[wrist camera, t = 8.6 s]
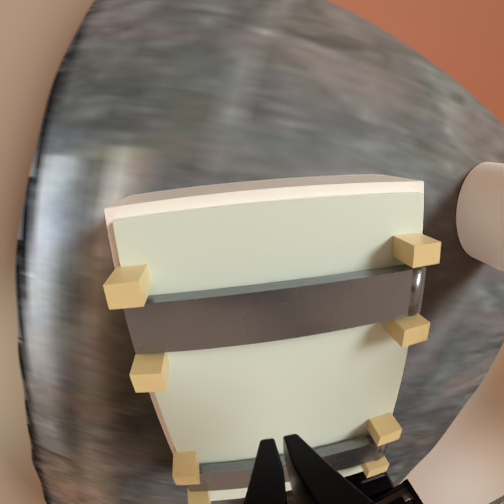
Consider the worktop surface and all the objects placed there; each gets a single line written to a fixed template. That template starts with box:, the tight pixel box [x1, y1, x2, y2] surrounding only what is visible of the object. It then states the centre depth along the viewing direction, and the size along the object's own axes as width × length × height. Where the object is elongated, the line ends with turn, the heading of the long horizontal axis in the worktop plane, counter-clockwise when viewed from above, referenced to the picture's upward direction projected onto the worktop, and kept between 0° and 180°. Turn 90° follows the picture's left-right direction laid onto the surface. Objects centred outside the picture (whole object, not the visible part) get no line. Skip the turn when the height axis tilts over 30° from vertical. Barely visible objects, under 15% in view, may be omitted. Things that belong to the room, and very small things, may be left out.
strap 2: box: [186, 435, 388, 492], centre depth 17 cm, size 14×2×1 cm, turn 94°
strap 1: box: [123, 264, 426, 354], centre depth 13 cm, size 14×2×1 cm, turn 94°
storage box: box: [103, 174, 441, 504], centre depth 18 cm, size 22×15×8 cm
